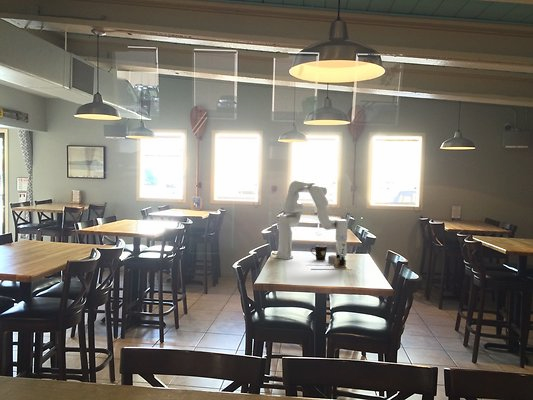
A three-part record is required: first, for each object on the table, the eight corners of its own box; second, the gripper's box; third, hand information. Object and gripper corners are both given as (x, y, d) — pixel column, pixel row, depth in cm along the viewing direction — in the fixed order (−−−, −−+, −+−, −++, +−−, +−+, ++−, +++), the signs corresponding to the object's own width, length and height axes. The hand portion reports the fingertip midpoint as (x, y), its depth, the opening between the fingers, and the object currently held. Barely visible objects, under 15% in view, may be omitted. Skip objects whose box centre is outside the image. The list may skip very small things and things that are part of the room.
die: (336, 268, 290) (337, 259, 289) (333, 266, 296) (334, 257, 295) (345, 268, 291) (346, 259, 290) (342, 266, 297) (342, 257, 296)
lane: (311, 269, 282) (311, 269, 282) (305, 264, 297) (305, 264, 297) (351, 269, 287) (351, 269, 287) (343, 265, 301) (343, 264, 301)
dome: (332, 263, 304) (333, 255, 304) (330, 262, 309) (330, 254, 309) (339, 263, 305) (340, 255, 305) (337, 262, 310) (337, 254, 310)
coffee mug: (326, 259, 323) (326, 245, 323) (326, 261, 315) (327, 247, 314) (310, 258, 324) (311, 244, 324) (310, 260, 316) (311, 246, 315)
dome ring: (330, 264, 302) (331, 257, 302) (326, 262, 311) (327, 255, 311) (343, 264, 303) (343, 257, 303) (339, 262, 312) (339, 255, 312)
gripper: (351, 239, 284) (349, 267, 285) (342, 236, 301) (341, 261, 302) (340, 239, 283) (338, 267, 284) (331, 236, 300) (330, 261, 301)
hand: (339, 264), depth 293 cm, fingers open, 7 cm apart
